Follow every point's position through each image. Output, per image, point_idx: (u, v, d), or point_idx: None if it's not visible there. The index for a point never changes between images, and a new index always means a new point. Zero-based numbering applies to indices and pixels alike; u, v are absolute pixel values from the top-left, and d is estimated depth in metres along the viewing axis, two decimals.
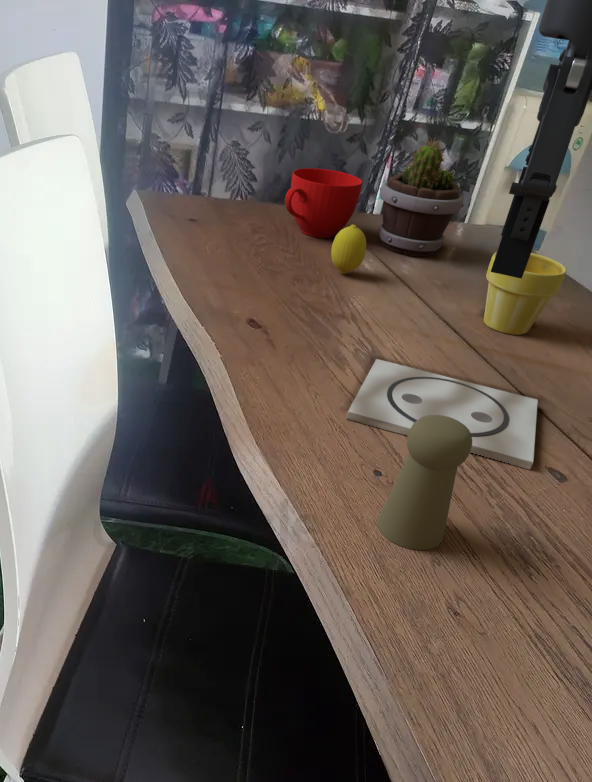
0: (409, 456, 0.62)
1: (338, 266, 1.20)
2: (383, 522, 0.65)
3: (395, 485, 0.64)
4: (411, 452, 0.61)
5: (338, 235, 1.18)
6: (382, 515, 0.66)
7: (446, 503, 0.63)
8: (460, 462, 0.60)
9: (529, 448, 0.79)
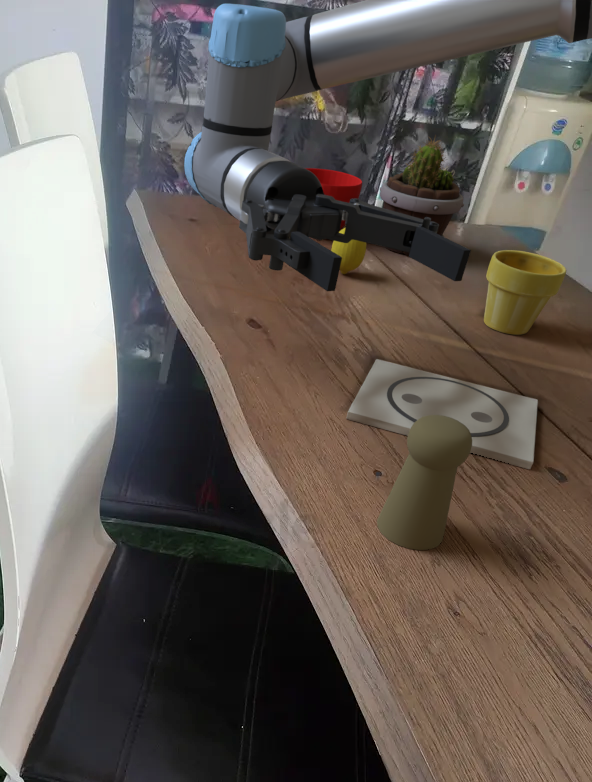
0: (409, 456, 0.62)
1: None
2: (383, 522, 0.65)
3: (395, 485, 0.64)
4: (411, 452, 0.61)
5: None
6: (382, 515, 0.66)
7: (446, 503, 0.63)
8: (460, 462, 0.60)
9: (529, 448, 0.79)
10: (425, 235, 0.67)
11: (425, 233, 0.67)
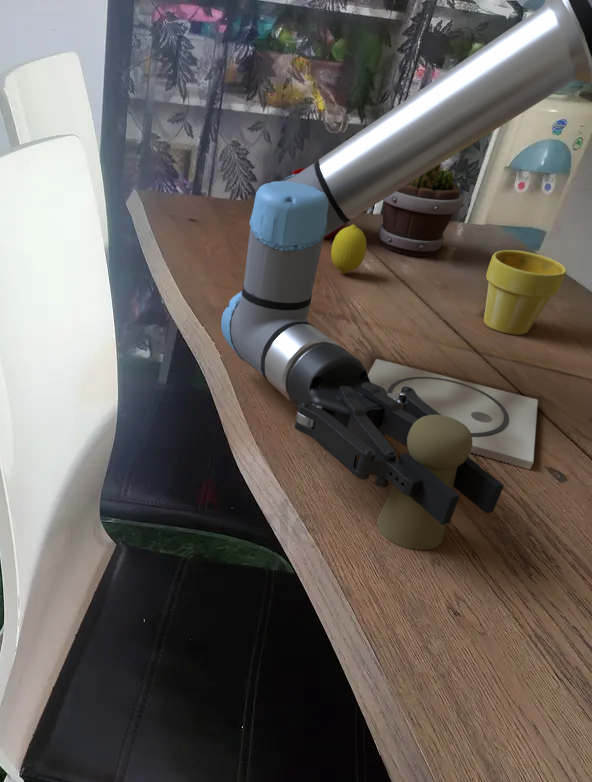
0: None
1: (338, 266, 1.20)
2: (383, 522, 0.65)
3: None
4: (411, 452, 0.61)
5: (338, 235, 1.18)
6: (382, 515, 0.66)
7: None
8: (460, 462, 0.60)
9: (529, 448, 0.79)
10: None
11: None
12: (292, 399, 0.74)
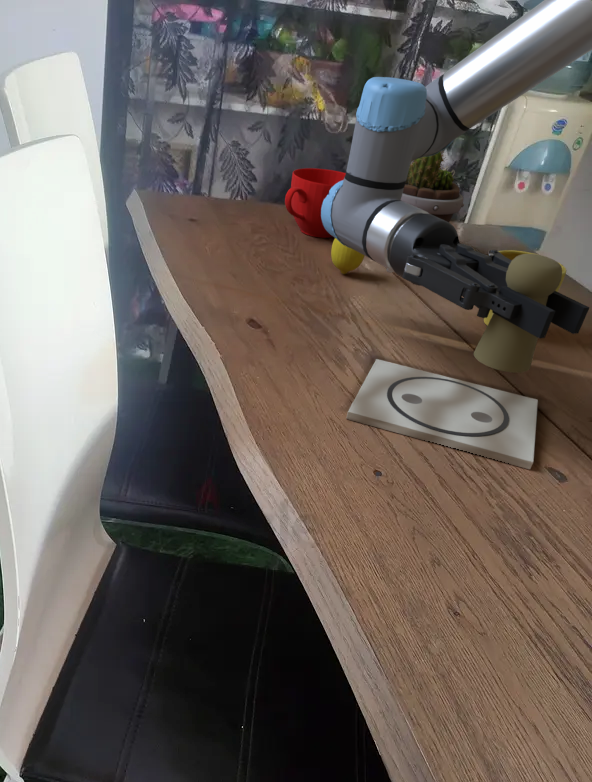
0: None
1: (338, 266, 1.20)
2: (481, 351, 0.78)
3: (493, 317, 0.77)
4: (511, 283, 0.73)
5: None
6: (479, 346, 0.78)
7: None
8: (552, 289, 0.72)
9: (529, 448, 0.79)
10: None
11: None
12: (394, 262, 0.86)
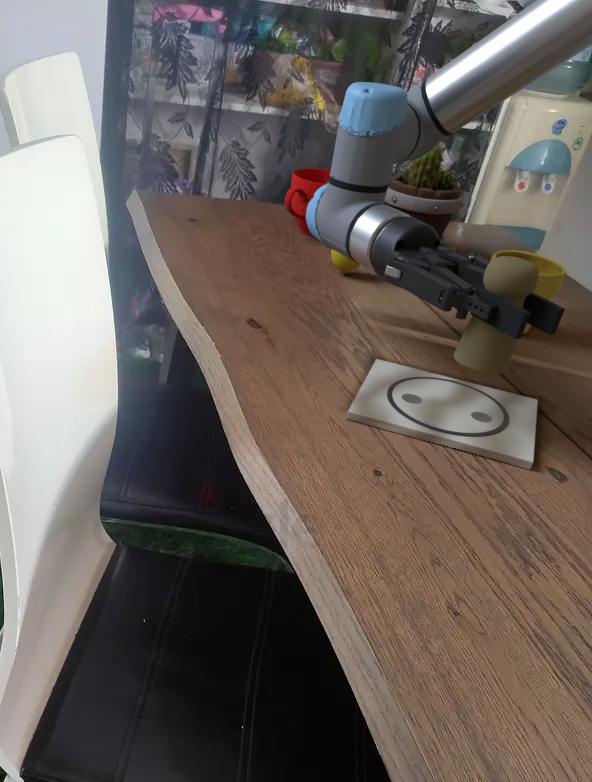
0: None
1: (338, 266, 1.20)
2: (460, 353, 0.79)
3: (471, 319, 0.78)
4: (488, 285, 0.74)
5: None
6: (459, 347, 0.79)
7: None
8: (529, 291, 0.73)
9: (529, 448, 0.79)
10: None
11: None
12: (376, 265, 0.87)
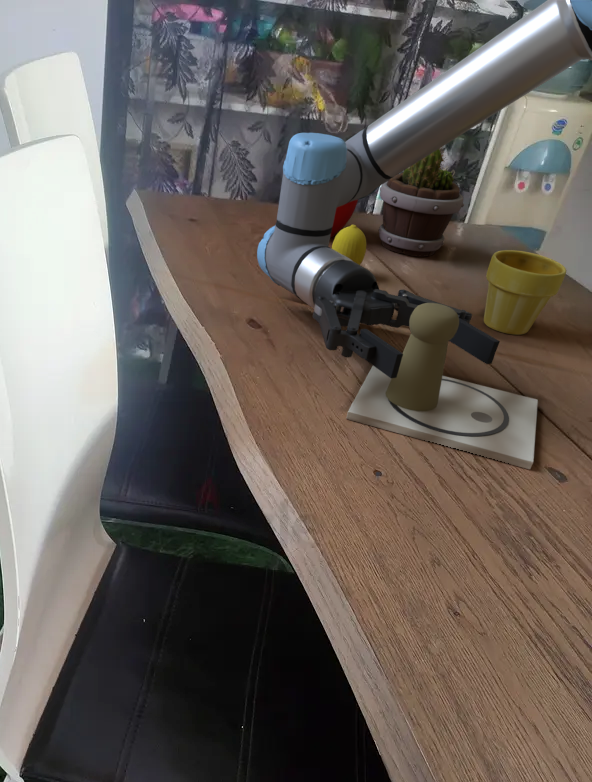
0: (411, 335, 0.81)
1: None
2: (390, 391, 0.84)
3: None
4: (412, 330, 0.80)
5: (338, 235, 1.18)
6: (389, 386, 0.85)
7: (439, 372, 0.81)
8: (450, 336, 0.79)
9: (529, 448, 0.79)
10: (462, 326, 0.85)
11: (462, 324, 0.85)
12: None
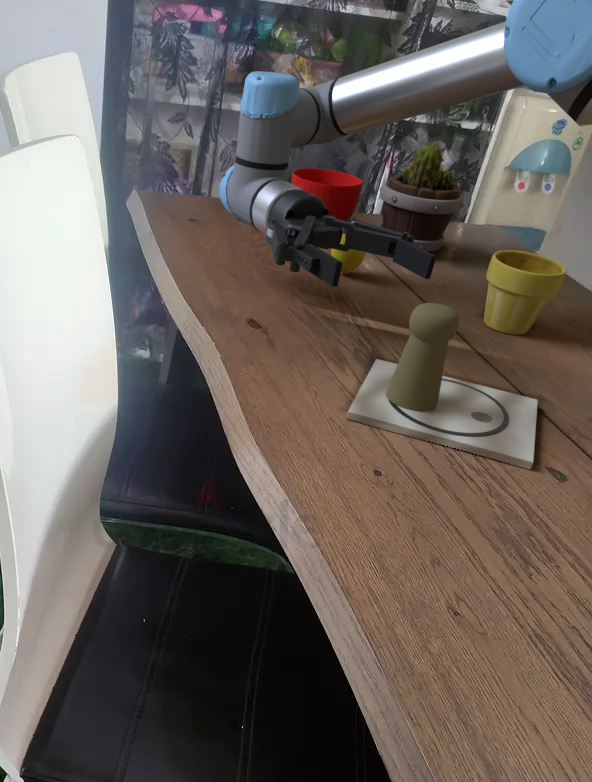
0: (411, 335, 0.81)
1: None
2: (390, 391, 0.84)
3: (400, 360, 0.83)
4: (412, 330, 0.80)
5: None
6: (389, 386, 0.85)
7: (439, 372, 0.81)
8: (450, 336, 0.79)
9: (529, 448, 0.79)
10: (404, 245, 0.91)
11: (404, 244, 0.91)
12: None
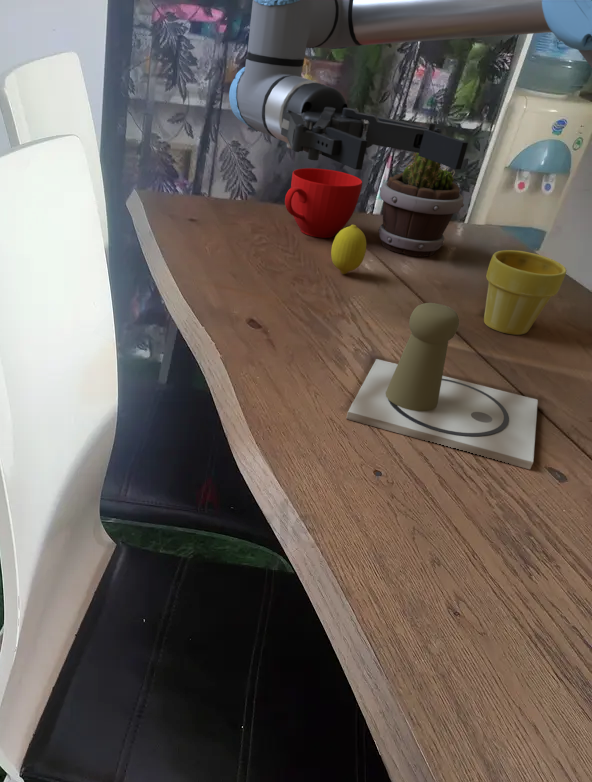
0: (411, 335, 0.81)
1: (338, 266, 1.20)
2: (390, 391, 0.84)
3: (400, 360, 0.83)
4: (412, 330, 0.80)
5: (338, 235, 1.18)
6: (389, 386, 0.85)
7: (439, 372, 0.81)
8: (450, 336, 0.79)
9: (529, 448, 0.79)
10: (431, 135, 0.83)
11: (431, 134, 0.83)
12: None
